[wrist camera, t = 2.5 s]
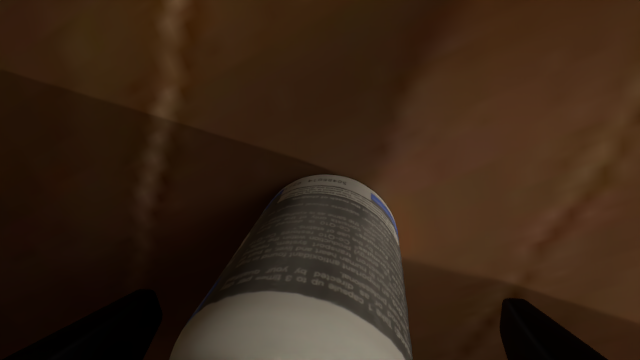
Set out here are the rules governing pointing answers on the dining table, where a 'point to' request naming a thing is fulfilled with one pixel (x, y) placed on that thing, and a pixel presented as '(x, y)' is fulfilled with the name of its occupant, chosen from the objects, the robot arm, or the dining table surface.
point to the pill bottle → (308, 283)
